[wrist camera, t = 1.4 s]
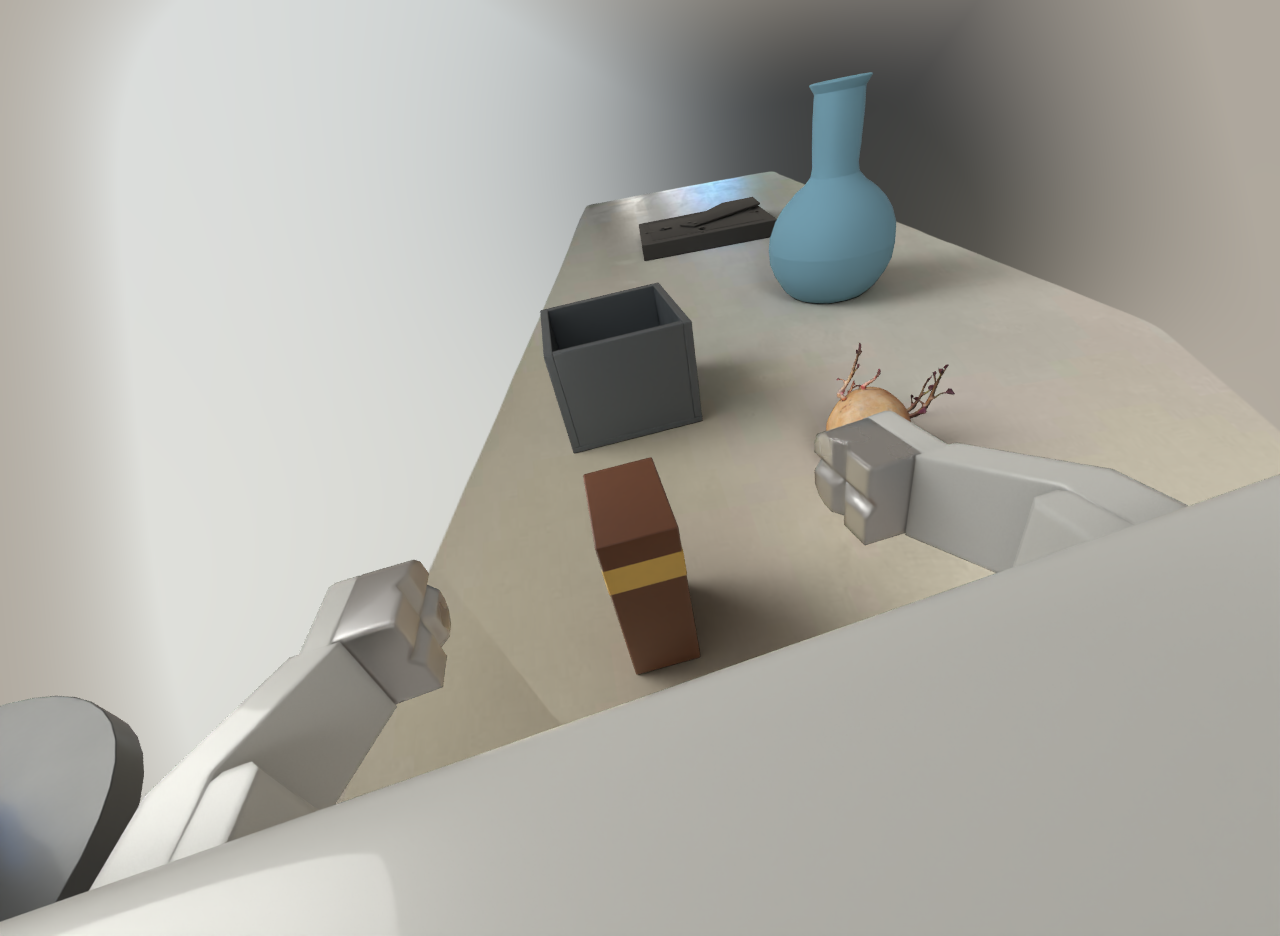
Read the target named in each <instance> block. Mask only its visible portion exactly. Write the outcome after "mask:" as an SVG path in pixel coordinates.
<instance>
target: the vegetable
mask: <svg viewBox="0 0 1280 936" xmlns="http://www.w3.org/2000/svg"><path fill="white" fill-rule="evenodd" d="M861 353H862V351H861V344H860V343H859V349H858V350H856V354H857V356H856V359H855V362H854V365H853V368H852V370H851V373H850V375H849V377H848V379H847V380H846V381H845V380H843V379H839V378H838V379H837V380H843V381H844V385H843V387H842V388H841V389H840V390H839V391H838V393H837V397H838V398H841V400H839V402H838V403H837V404H836V406H835V407H834V409H833V410H832V412H831V414H830V416H829V418H828V421H827V426H826V431H828V430H831V429H834V428H837V427H840V426H843V425H846V424H849V423H853V422H856V421H859V420H862V419H863V418H866V417H868V416H871V415H874V414H877V413H880V412H883V411H893V412H895V413H896V414H898V415H900V416H901V417H903V418H905V419H906V420H908V421H910V422H911V420H910V419H911V418H913V417H917V416H918V415H920V414H925V413H926V412H927V411H926V409H927V408H928V406H929V404H930V402H931V400H933V399H935V398H936V397H937V396H939V395H940V394H943V393H947V394H955V393H954V392H953V391H952V389H949V388H948V390H947V391H946V392H943V393H940V394H938V395H937V396H934V393H935V390H936V388H937V385H938V383H939V380H940V379H941V376H942V375H943V373H944V371H945V370H946V368H947V367H948V365H945V366H944V368H945V369H944V370H943V369H939V368H938V369H939V373H940V376H939V378H938V379H937V381H936V377H935V375H936V371H935V372H933V375H932V376H934V380H935V383H934V385H930V386H929V387H928V389H929V390H928V391H927V392H923V391H924V388H925V386H926V384H927V382H928V381H929V380H930V379H931V377H932V376H931V377H930V378H928V379H927V381H926V383H925V384H924V386H923V389H922V391H921V393H920V395H919V397H915V398H913V395H912V394H911V406H910V407H909V408H908V409H906V408H905V406H904V405H903V404H902V403H901V402H900V401H899V400H898V399H897V398H896V397H895V396H894V395H892V394H891V393H889V392H888V391H886V390H884V389H881V388H877V387H866V386H867V385H869V384H870V383H872V382H873V381H874V380H875V379H876V378H877V377H878V376H879V375H880V372H881V371H880V369H878V372H877V375H876V376H875V377H874V378H873V379H872V380H870V381H868V382H866V383H864V384H863V385H862V386H861V385H856V386H854V385H855V383H854V381H853V383H852V385H851V388H850V390H849V391H848V390H847V391H848V393H847V395H846V396H844V395H843V393H844V392H845V388H846V387H847V385H848V383H849V382H850V380H851V378H852V377H853V375H854V373H855V371H856V370H857V369H858V368H859V365H860V364H857V361H858V357H859V355H860V354H861ZM856 364H857V368H856V369H855V366H856ZM853 386H854V387H853ZM857 386H858V387H859V389H857V390H854V391H852V389H853V388H855V387H857ZM931 390H932V391H931ZM851 391H852V392H851ZM929 391H931V393H930V396H929V398H928V399H927V401H926V403H923V402H922V401H920V398H921V397H922V396H923V395H925V394H926V393H928V392H929ZM912 398H913V399H915V400H916V401H915V402H914V403H913V402H912ZM918 401H919V402H921V403H922V407H921V408H920V409H919V410H918V411H916V412H914V413H912V414H909V413H908V412H910V411H911V410H913V409H914V408H915V407H916V405H917V403H918Z"/></svg>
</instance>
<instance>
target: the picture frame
mask: <svg viewBox="0 0 1280 936" xmlns="http://www.w3.org/2000/svg"><path fill="white" fill-rule="evenodd" d="M759 204H760V203H759V202H758V201H757V200H756V199H755V198H753V197H750V198H745V199H740V200H735V201H730V202H725V203H721V204H719V205H717V206H715V207H713V208H711V209H709V210H707V211H704V212H699V213H694V214H689V215H684V216H679V217H674V218H669V219H664V220H659V221H653V222H648V223H643V224H639V229H640V236H641V242H642V248H643V255H644V261H647V260H652V259H657V258H663V257H668V256H673V255H678V254H684V253H689V252H694V251H699V250H705V249H710V248H715V247H720V246H725V245H731V244H736V243H741V242H746V241H752V240H757V239H762V238H767V237H771V234H772V231H773V228H774V225H775V222H776V220H777V219H776V218H775V217H773V216H772V215H770V214H769V213H768V212H766V211H765V210H763V209H762V208H760V207H759V206H758V205H759Z"/></svg>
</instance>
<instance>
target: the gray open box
mask: <svg viewBox="0 0 1280 936" xmlns="http://www.w3.org/2000/svg"><path fill="white" fill-rule="evenodd" d="M540 312H541V326H542V339H543V353H544V360H545V363H546V366H547V369H548V372H549V376H550V379H551V382H552V385H553V388H554V391H555V395H556V398H557V401H558V404H559V407H560V411H561V414H562V417H563V420H564V423H565V427H566V430H567V433H568V436H569V439H570V442H571V446H572V449H573V452H574V453H577V452H581V451H585V450H589V449H593V448H597V447H601V446H605V445H608V444H612V443H616V442H620V441H624V440H628V439H632V438H636V437H640V436H644V435H648V434H652V433H656V432H660V431H664V430H668V429H671V428H675V427H679V426H683V425H687V424H691V423H695V422H699V421H702V412H701V403H700V394H699V385H698V376H697V367H696V358H695V349H694V340H693V331H692V322H691V320H690V319H689V318H688V317H687V316H686V315H685V313H684V312H683V311H682V310H681V309H680V308H679V306H678V305H677V304H676V303H675V302H674V300H673V299H672V298H671V297H670V296H669V295H668V293H667V292H666V291H665V290H664V289H663V288H662V286H661V285H660V284H659V283H654V284H650V285H646V286H641V287H637V288H633V289H629V290H624V291H620V292H616V293H612V294H608V295H603V296H599V297H595V298H591V299H587V300H582V301H578V302H574V303H570V304H565V305H561V306H557V307H553V308H549V309H544V310H541V311H540Z"/></svg>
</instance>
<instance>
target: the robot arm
mask: <svg viewBox="0 0 1280 936" xmlns="http://www.w3.org/2000/svg"><path fill="white" fill-rule="evenodd" d="M814 452H815V453H816V454H817V455H818V456H819V457H820V458H821V460H820V462H819V463H818V465H817V467H816V468H815V484H816V487H817V490H818V493H819V496H820V497H821V499H822V501H823V502H824V504H825V505H826V506H827V507H828V508H829V509H830V510H831V511H832V512H835V513H838V514H842V515H845V516H844V525H845V526H846V527H847V528H848V529H849V530H850V531H851V532H852V533H853V534H854V535H855V536H856V537H857V538H858V539H859V540H860V541H861V542H862V543H863V544H864V545H867V544H871V543H874V542H877V541H880V540H884V539H887V538H890V537H893V536H897V535H900V534H903V533H906V534H905V535H907V536H909V537H912V538H914V539H916V540H919V541H921V542H923V543H926V544H928V545H931V546H933V547H935V548H938V549H940V550H943V551H945V552H947V553H950V554H952V555H955V556H957V557H959V558H962V559H964V560H967V561H969V562H971V563H974V564H976V565H978V566H981V567H983V568H986V569H988V570H990V571H993V572H995V574H993V575H990V576H987V577H984V578H981V579H978V580H975V581H973V582H970V583H967V584H964V585H961V586H958V587H955V588H953V589H950V590H947V591H944V592H941V593H938V594H935V595H933V596H930V597H927V598H924V599H921V600H918V601H915V602H913V603H910V604H907V605H904V606H901V607H898V608H895V609H893V610H890V611H887V612H884V613H881V614H878V615H875V616H873V617H870V618H867V619H864V620H861V621H858V622H855V623H852V624H850V625H847V626H844V627H841V628H838V629H835V630H832V631H830V632H827V633H824V634H821V635H818V636H815V637H812V638H810V639H807V640H804V641H801V642H798V643H795V644H792V645H790V646H787V647H784V648H781V649H778V650H775V651H772V652H770V653H767V654H764V655H761V656H758V657H755V658H752V659H749V660H747V661H744V662H741V663H738V664H735V665H732V666H730V667H727V668H724V669H721V670H718V671H715V672H712V673H710V674H707V675H704V676H701V677H698V678H695V679H692V680H690V681H687V682H684V683H681V684H678V685H675V686H672V687H670V688H667V689H664V690H661V691H658V692H655V693H652V694H650V695H647V696H644V697H641V698H638V699H635V700H632V701H630V702H627V703H624V704H621V705H618V706H615V707H612V708H610V709H607V710H604V711H601V712H598V713H595V714H592V715H590V716H587V717H584V718H581V719H578V720H575V721H572V722H570V723H567V724H564V725H561V726H558V727H555V728H552V729H550V730H547V731H544V732H541V733H538V734H535V735H532V736H530V737H527V738H524V739H521V740H518V741H515V742H512V743H510V744H507V745H504V746H501V747H498V748H495V749H492V750H490V751H487V752H484V753H481V754H478V755H475V756H472V757H470V758H467V759H464V760H461V761H458V762H455V763H452V764H450V765H447V766H444V767H441V768H438V769H435V770H432V771H430V772H427V773H424V774H421V775H418V776H415V777H412V778H410V779H407V780H404V781H401V782H398V783H395V784H392V785H390V786H387V787H384V788H381V789H378V790H375V791H372V792H370V793H367V794H364V795H361V796H358V797H355V798H352V799H350V800H347V801H344V802H341V803H338V804H336V802H337V800H338V799H339V797H340V796H341V794H342V793H343V791H344V789H345V788H346V786H347V785H348V783H349V782H350V780H351V778H352V777H353V775H354V774H355V772H356V770H357V769H358V767H359V766H360V764H361V763H362V761H363V759H364V758H365V756H366V755H367V753H368V751H369V750H370V748H371V747H372V745H373V744H374V742H375V740H376V739H377V737H378V736H379V734H380V733H381V731H382V729H383V728H384V726H385V725H386V723H387V721H388V720H389V718H390V717H391V715H392V714H393V712H394V710H395V709H396V707H397V706H396V705H395V704H398V703H401V702H404V701H406V700H409V699H412V698H415V697H417V696H420V695H423V694H425V693H428V692H431V691H434V690H436V689H439V688H442V687H443V682H444V675H445V668H446V660H447V655H446V654H445V652H444V651H443V650H442V648H441V647H442V646H443V645H444V643H445V642H446V641H447V639H448V638H449V637H450V628H451V621H450V614H449V609H448V606H447V603H446V601H445V598H444V597H443V595H442V594H441V592H440V590H438V589H436V588H434V587H431V586H429V585H427V581H428V576H429V573H428V572H427V570H426V569H425V568H424V567H423V565H422V563H421V562H420V561H416V560H411V561H407V562H404V563H401V564H397V565H394V566H391V567H387V568H383V569H380V570H377V571H373V572H370V573H367V574H363V575H361V576H356V577H353V578H350V579H347V580H344V581H340V582H337V583H335V584H334V585H332V586H330V587H329V588H328V590H327V593H326V595H325V597H324V600H323V602H322V604H321V606H320V609H319V611H318V613H317V615H316V617H315V620H314V622H313V624H312V626H311V628H310V631H309V633H308V635H307V637H306V640H305V642H304V644H303V646H302V649H301V651H300V653H299V655H296V656H294V657H291V658H289V659H288V660H287V661H286V662H285V663H283V664H282V665H281V666H280V667H279V668H278V669H277V670H276V671H275V672H274V673H273V674H272V675H271V676H270V677H269V678H268V679H267V680H266V681H265V682H264V683H262V684H261V685H260V686H259V687H258V688H257V689H256V690H255V691H254V692H253V693H252V694H251V695H250V696H249V697H248V698H247V699H246V700H245V701H244V702H243V703H241V705H239V706H238V707H237V708H236V709H235V710H234V711H233V712H232V713H231V714H230V715H229V716H228V717H227V718H226V719H225V720H224V721H223V722H222V723H220V724H219V725H218V726H217V727H216V728H215V729H214V730H213V731H212V732H211V733H210V734H209V735H208V736H207V737H206V738H205V739H204V740H203V741H202V742H201V743H199V744H198V745H197V746H196V747H195V748H194V749H193V750H192V751H191V752H190V753H189V754H188V755H187V756H186V757H185V758H184V759H183V760H182V761H181V762H180V763H179V764H177V765H176V766H175V767H174V768H173V769H172V770H171V771H170V772H169V773H168V774H167V775H166V776H165V777H164V778H163V779H162V780H161V781H160V782H159V783H157V785H155V786H154V787H153V788H152V789H151V790H150V791H149V792H148V793H147V794H146V795H145V797H144V799H143V800H142V802H141V804H140V805H139V807H138V809H137V810H136V812H135V814H134V815H133V817H132V819H131V820H130V822H129V824H128V825H127V827H126V829H125V830H124V832H123V834H122V836H121V837H120V839H119V841H118V842H117V844H116V846H115V847H114V849H113V851H112V852H111V854H110V856H109V858H108V859H107V861H106V863H105V864H104V866H103V868H102V869H101V871H100V873H99V874H98V876H97V878H96V879H95V881H94V883H93V885H92V886H91V888H90V890H89V891H87V892H84V893H81V894H78V895H75V896H73V897H70V898H67V899H64V900H61V901H58V902H55V903H53V904H50V905H47V906H44V907H41V908H38V909H35V910H33V911H30V912H27V913H24V914H21V915H18V916H15V917H13V918H10V919H7V920H4V921H1V922H0V936H1280V474H1278V475H1275V476H1273V477H1270V478H1267V479H1264V480H1261V481H1258V482H1255V483H1253V484H1250V485H1247V486H1244V487H1241V488H1238V489H1235V490H1233V491H1230V492H1227V493H1224V494H1221V495H1218V496H1215V497H1213V498H1210V499H1207V500H1204V501H1201V502H1198V503H1195V504H1193V505H1190V506H1188V505H1186V504H1184V503H1182V502H1180V501H1178V500H1176V499H1174V498H1172V497H1170V496H1168V495H1165V494H1163V493H1161V492H1159V491H1157V490H1155V489H1153V488H1151V487H1149V486H1147V485H1145V484H1143V483H1141V482H1139V481H1137V480H1135V479H1132V478H1130V477H1128V476H1126V475H1124V474H1122V473H1120V472H1118V471H1116V470H1114V469H1110V468H1104V467H1098V466H1092V465H1086V464H1080V463H1074V462H1068V461H1062V460H1056V459H1050V458H1044V457H1038V456H1033V455H1027V454H1021V453H1015V452H1009V451H1003V450H997V449H991V448H985V447H979V446H973V445H967V444H961V443H953V444H950V445H948V444H946V443H945V442H943V441H941V440H940V439H938V438H936V437H935V436H933V435H931V434H930V433H928V432H926V431H925V430H923V429H921V428H920V427H918V426H916V425H915V424H913V423H911V422H910V421H908V420H906V419H905V418H903V417H901V416H900V415H898V414H896V413H895V412H893V411H883V412H880V413H877V414H874V415H871V416H868V417H866V418H863V419H862V420H859V421H856V422H853V423H849V424H846V425H843V426H840V427H837V428H834V429H831V430H828V431H825V432H822V433H819V434H817V436H816V439H815V448H814Z"/></svg>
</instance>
